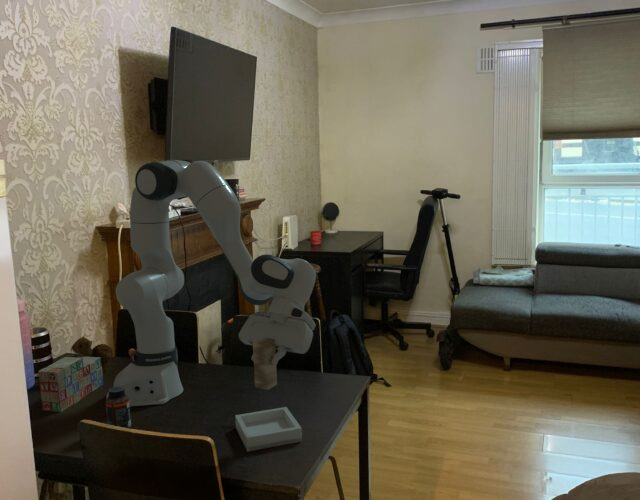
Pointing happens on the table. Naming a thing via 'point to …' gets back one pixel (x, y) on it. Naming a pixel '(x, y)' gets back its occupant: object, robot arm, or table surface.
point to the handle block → (264, 363)
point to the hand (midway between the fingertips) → (263, 362)
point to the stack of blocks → (69, 381)
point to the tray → (268, 428)
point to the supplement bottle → (118, 408)
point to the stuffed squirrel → (93, 351)
